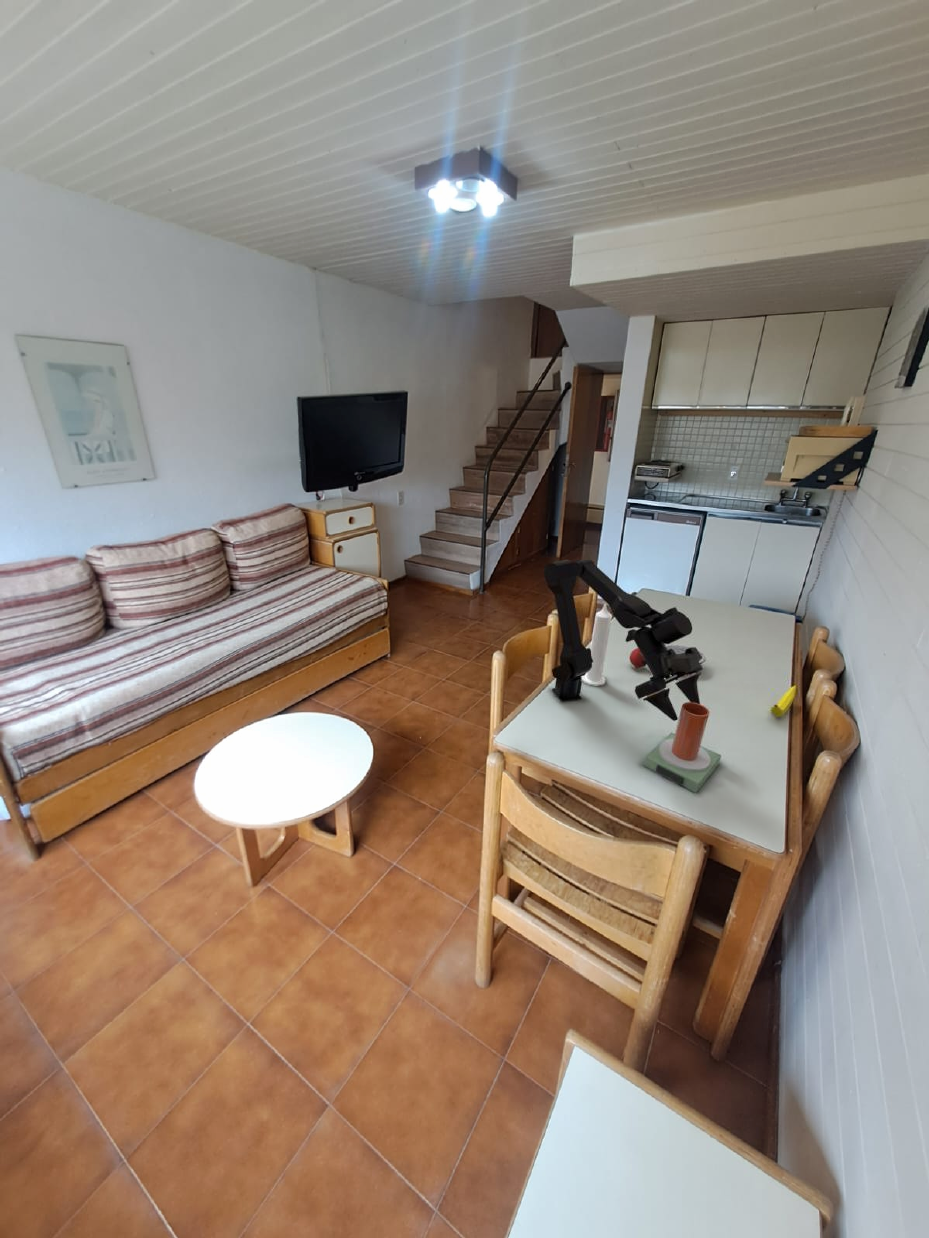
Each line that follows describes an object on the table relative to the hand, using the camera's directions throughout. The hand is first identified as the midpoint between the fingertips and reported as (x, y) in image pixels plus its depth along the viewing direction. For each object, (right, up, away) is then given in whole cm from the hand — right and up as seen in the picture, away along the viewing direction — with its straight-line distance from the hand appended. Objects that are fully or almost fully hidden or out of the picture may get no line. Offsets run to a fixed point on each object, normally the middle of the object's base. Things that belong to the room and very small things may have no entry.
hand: (687, 713), depth 111 cm
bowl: (+20, +6, +49) cm, 54 cm away
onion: (+5, +5, +47) cm, 48 cm away
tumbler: (+1, -10, +3) cm, 10 cm away
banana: (+38, -5, +26) cm, 46 cm away
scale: (+1, -13, +4) cm, 13 cm away
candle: (-11, +3, +39) cm, 41 cm away
